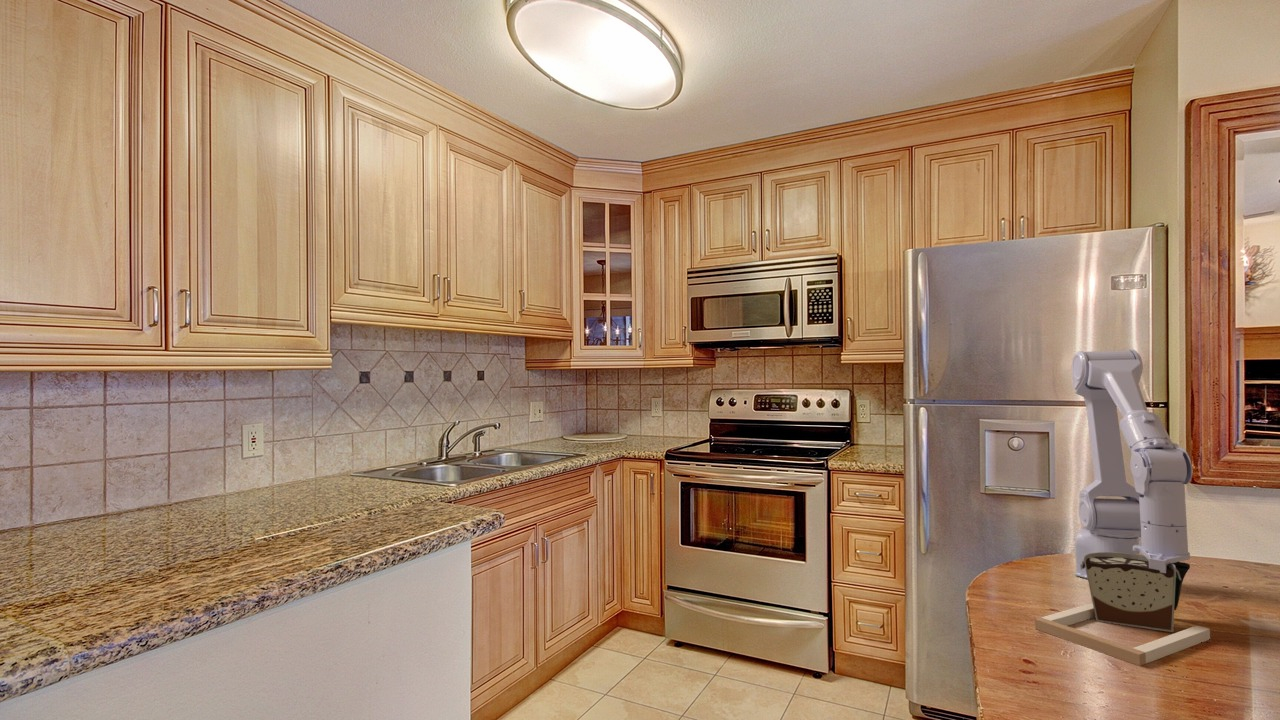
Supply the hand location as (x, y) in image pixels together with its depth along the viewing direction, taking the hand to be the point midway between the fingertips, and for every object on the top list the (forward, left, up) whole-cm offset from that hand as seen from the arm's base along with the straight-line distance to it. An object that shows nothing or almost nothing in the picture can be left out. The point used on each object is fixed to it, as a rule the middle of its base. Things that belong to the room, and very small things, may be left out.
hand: (1167, 607), depth 98 cm
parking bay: (0, -13, -2) cm, 13 cm away
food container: (-2, -6, -2) cm, 7 cm away
